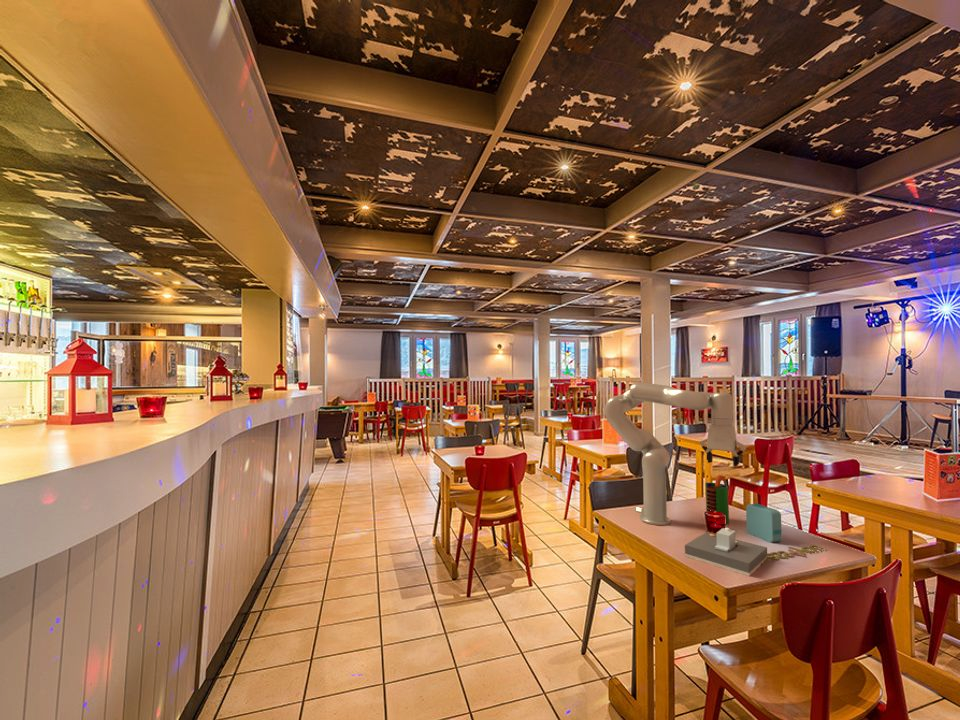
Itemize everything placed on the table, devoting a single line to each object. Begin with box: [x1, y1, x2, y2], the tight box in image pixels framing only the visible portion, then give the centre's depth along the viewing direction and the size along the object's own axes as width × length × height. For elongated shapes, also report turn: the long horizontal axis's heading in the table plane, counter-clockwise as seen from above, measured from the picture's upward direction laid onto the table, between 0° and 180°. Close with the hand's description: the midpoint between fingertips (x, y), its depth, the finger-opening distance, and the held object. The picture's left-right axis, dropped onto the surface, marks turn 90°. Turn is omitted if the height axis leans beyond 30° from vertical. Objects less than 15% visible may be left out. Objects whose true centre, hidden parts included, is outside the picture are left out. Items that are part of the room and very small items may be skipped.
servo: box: [714, 527, 737, 552], centre depth 150 cm, size 4×12×9 cm, turn 134°
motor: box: [705, 474, 730, 525], centre depth 191 cm, size 10×9×20 cm
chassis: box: [684, 531, 768, 577], centre depth 150 cm, size 20×20×4 cm
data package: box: [745, 503, 783, 543], centre depth 170 cm, size 12×4×12 cm, turn 14°
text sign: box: [760, 544, 826, 566], centre depth 153 cm, size 40×1×8 cm
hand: (722, 464), depth 175 cm, fingers open, 9 cm apart
